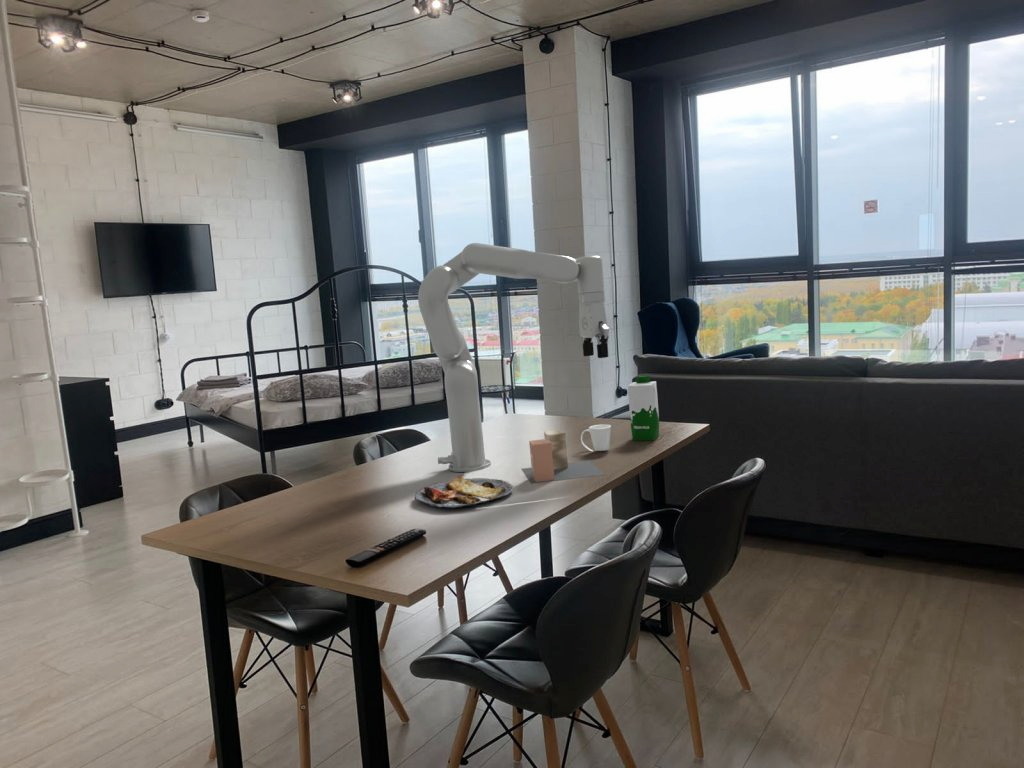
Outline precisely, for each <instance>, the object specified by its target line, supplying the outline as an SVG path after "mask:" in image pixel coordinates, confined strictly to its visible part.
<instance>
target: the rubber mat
mask: <svg viewBox="0 0 1024 768" xmlns="http://www.w3.org/2000/svg"><path fill="white" fill-rule="evenodd" d="M521 470H522V472H523V473H524V476H525V477H526V478H527V480H528V482H529V483H530V484H531V485H532V484H541V483H549V482H556V481H564V480H565V481H566V480H572V479H581V478H590V477H591V478H592V477H598V476H605V475H606V474H605V473H604V472H602V470H601V469H599V468H598V467H597V466H596V465H595V464H594V463H593V462H592V461H591V460H585V461H584V460H582V461H574V462H568V468H565V469H557V470H554V480H549V481H541V482H536V481H535V480H534V478H533V477H532V467H531V466H530V467H524V468H521Z"/></svg>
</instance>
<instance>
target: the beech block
mask: <svg viewBox="0 0 1024 768" xmlns="http://www.w3.org/2000/svg"><path fill="white" fill-rule="evenodd" d="M543 436H544V439H548V440H549V441H550V442H551V445H552V457H553V469H554V470H557V469H565V468H568V463H569V461H568V451H567V450H568V449H567V439H566V432H565V431H564V430H563V429H554V430H553V429H552V430H545V431H543Z"/></svg>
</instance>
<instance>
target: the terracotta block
mask: <svg viewBox="0 0 1024 768" xmlns="http://www.w3.org/2000/svg"><path fill="white" fill-rule="evenodd" d="M528 444H529V453H530V455H529V456H530V463H531V465H530V468H531V467H532V477H533V478H534V480H535V481H536V482H541V481H549V480H554V469H553V457H552V445H551V442H550V441H549V440H548V439H545V438H543V439H536V440H534V439H533V440H529V443H528Z"/></svg>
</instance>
